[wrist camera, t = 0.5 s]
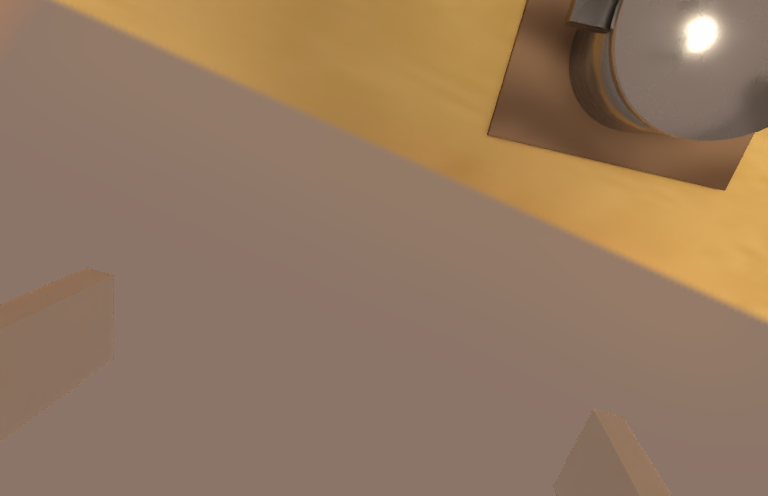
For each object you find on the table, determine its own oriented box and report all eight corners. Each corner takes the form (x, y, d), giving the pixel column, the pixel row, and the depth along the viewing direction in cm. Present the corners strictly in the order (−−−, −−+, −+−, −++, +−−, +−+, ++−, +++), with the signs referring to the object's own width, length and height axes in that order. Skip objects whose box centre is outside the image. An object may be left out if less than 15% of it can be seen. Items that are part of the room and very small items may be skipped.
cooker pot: (516, 111, 31) (546, 106, 23) (570, -60, 28) (630, -143, 19) (717, 158, 30) (827, 171, 22) (801, -12, 27) (972, -76, 18)
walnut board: (550, -80, 28) (554, -86, 27) (824, -23, 27) (836, -28, 26) (487, 134, 33) (488, 134, 32) (717, 188, 32) (724, 190, 31)
